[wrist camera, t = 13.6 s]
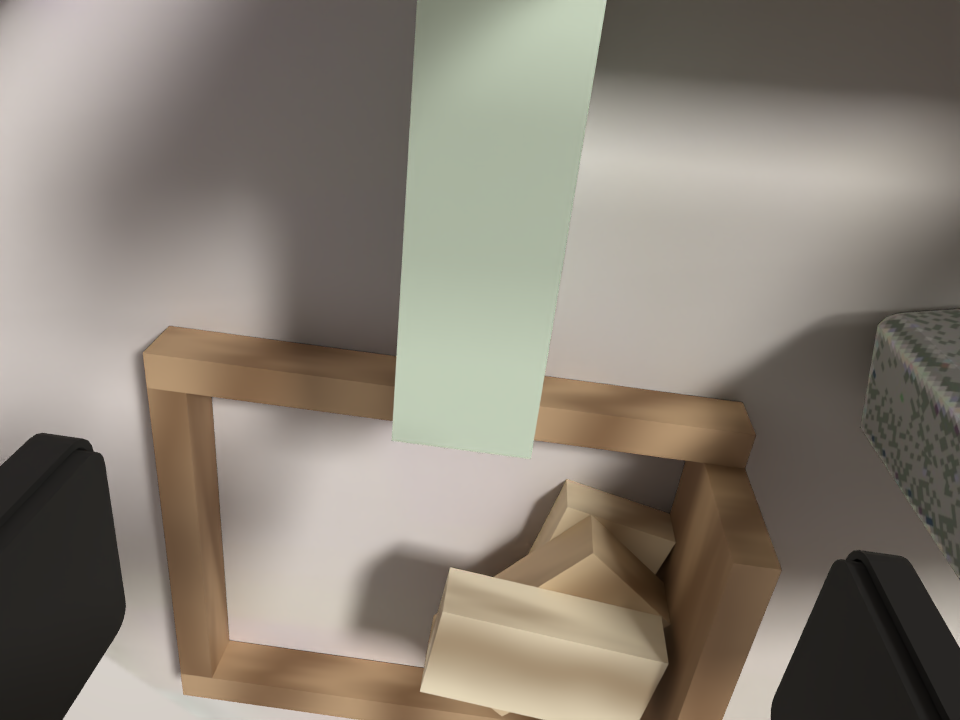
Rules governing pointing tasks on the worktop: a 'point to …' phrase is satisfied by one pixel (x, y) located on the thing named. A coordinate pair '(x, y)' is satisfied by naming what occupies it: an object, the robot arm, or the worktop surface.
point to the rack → (370, 393)
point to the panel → (488, 213)
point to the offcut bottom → (612, 522)
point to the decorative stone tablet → (920, 417)
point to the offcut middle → (590, 571)
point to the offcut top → (542, 651)
